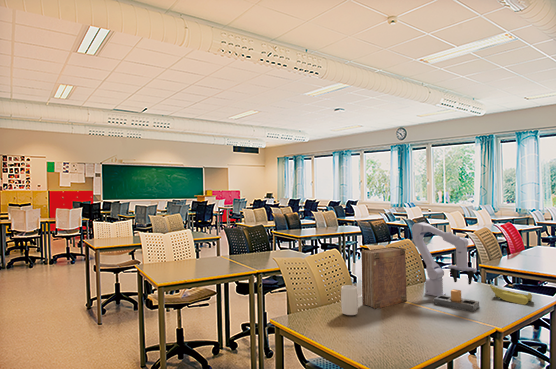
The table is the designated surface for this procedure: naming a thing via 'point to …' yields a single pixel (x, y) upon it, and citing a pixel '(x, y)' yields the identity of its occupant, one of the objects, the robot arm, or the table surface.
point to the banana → (511, 296)
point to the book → (383, 277)
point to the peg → (456, 295)
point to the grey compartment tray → (457, 303)
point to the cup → (349, 300)
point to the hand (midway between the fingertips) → (462, 283)
